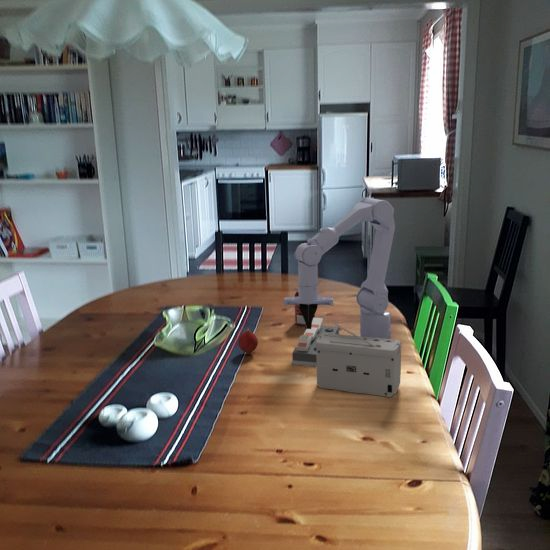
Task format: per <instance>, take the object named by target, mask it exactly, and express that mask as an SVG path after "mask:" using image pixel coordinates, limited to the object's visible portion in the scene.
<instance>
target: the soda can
mask: <svg viewBox="0 0 550 550" xmlns="http://www.w3.org/2000/svg"><path fill="white" fill-rule="evenodd" d="M294 297H299V288H296V292H295V293H294ZM313 318H316V314H315V315H314V317H313ZM294 321H295V324H297V325H298V326H305V327H306V323H305V320H304V318H303V315H302V314H301V312H300V310H299V305H294Z"/></svg>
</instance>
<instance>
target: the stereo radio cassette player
mask: <svg viewBox="0 0 550 550" xmlns="http://www.w3.org/2000/svg"><path fill="white" fill-rule="evenodd" d="M320 318H323V319H326V320H327V321H328V322H331V323H332V324H334V325H335V326H336V327H339V329H342V330H344V331H345V332H347V333H348V334H350V335H348V334H341V333H340V334H330V333H322V334H321V335H320V336H319V337H318V339H317V341H316V357H317V367H316V384H317V385H318V386H319V387H318V388H320V389H329V390H336V391H341V392H342V391H344V392H348V393H349V392H352V393H358V394H366V395H372V396H373V395H374V396H381V397H387V398H392V397H393V396H394V395H395V394H396V393H397V391H398V389H399V387H400V384H401V372H402V371H401V370H402V341H401V340H399V339H390V338H389V339H381V338H371V337H361V336H359V335H358V334H355V333H354V332H352V331H350V330H348V329H347V328H345V327H343V326H342V325H340V324H338V323H336V322H334V321H332V320H330V319H329V318H326V317H325V316H324V315H322V314H321V315H320Z"/></svg>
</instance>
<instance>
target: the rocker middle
mask: <svg viewBox="0 0 550 550" xmlns="http://www.w3.org/2000/svg"><path fill="white" fill-rule="evenodd" d="M317 332H318V328H315V327H311V329H305V331H304V332H303V335H309V336H312V340H314V338H315V336H316V334H317Z"/></svg>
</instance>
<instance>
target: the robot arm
mask: <svg viewBox="0 0 550 550" xmlns="http://www.w3.org/2000/svg"><path fill="white" fill-rule="evenodd" d="M394 214H395V207H393V205H392V204H391V203H390V202H389V201H388V200H386V199H377V198H373V197H370V196H368V197H364V198H362V199H361V200H360V201H359V202H357V203H356V204H354V206H353V208H352V209H351V210H350V211H349V212H348V213H346V214H345V215H344V216H343V217H341V218H340V220H338V221H337V222H336V223H335V224H334V225H333V226H331V227H329V226H325V227H321V228H320V229H319V230H318V231H319V232H318V233H316V234H315V235H314V236H313V237H311V238H308V239H307V240H306V241H307V242H304V243H301V244H299V245H298V246H297V247H296V249H295V252H294V253H293V256H294V258H295V259H296V261H297V265H298V266H297V274H298V275H297V277H298V280H297V281H298V283H297V284H298V285H297V286H298V289H299V297H295V296H290V297H284V298H283V306H286V307H287V306H295V305H299V310H300V312H301V314H302V315H303V318H304V320H305V323H306V326H305V327H306V329H311V327H312V320H313V317H314V315H315V316H316V312H317V311H318V308H319V307H318V306H330V307H333V306H334V297H325V296H319V274H318V273H319V272H318V271H319V269H318V268H319V267H318V264H319V263H320V261H321V259H322V257H323V255H324V254H325V253H326V252H328V251H330V249H332V248H333V247H334V246H336V245H337V244H338V243H339V239H340V237H341V236H342V235H343V234H344V233H347V232H348V231H349V230H351V229H352V228H353V227H355V226H356V225H358V224H359V223H360V222H369V223H370V224H371V225H372V227H373V228H374V229H375V235H374V239H373V244H372V245H373V246H372V250H371V256H370V261H369V265H368V270H367V271H368V272H367V275H366V279H365V280H364V281H363V282H362V283H361V285H360V288H359V290H358V291H357V293H356V296H355V298H356V299H355V300H356V303H357V304H358V306H359V309H360V310H359V311H360V312H359V313H360V315H359V316H360V319H359V321H360V323H359V324H360V325H359V326H360V327H359V328H360V329H359V335H358V336H361V337H371V338H381V339H390V338H391V333H392V332H391V331H392V330H391V312H388V311H386V310H387V309H388V308H389V307H388V306H389V298H388V297H389V295H388V294H389V290H388V288H387V286H386V284H385V280H386V276H387V271H388V265H389V261H390V255H391V250H392V245H393V240H394V234H395V230H396V223H395V218H394ZM306 329H305V330H306Z"/></svg>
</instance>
